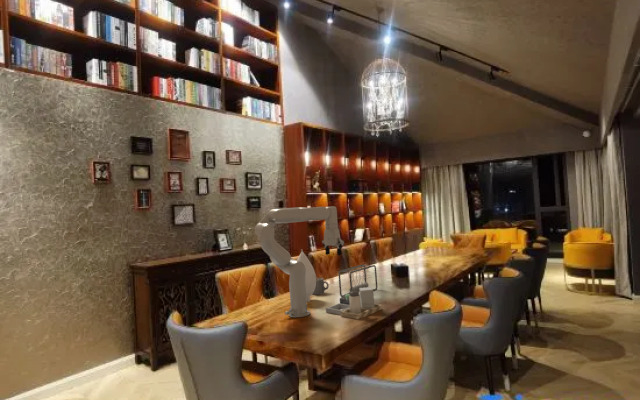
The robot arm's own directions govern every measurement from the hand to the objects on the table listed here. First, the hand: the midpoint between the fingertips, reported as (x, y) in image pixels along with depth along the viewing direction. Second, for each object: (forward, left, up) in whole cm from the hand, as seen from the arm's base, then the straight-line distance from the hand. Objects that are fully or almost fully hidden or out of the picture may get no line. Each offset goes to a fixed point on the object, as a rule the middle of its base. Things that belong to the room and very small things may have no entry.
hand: (333, 254), depth 247 cm
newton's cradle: (+35, +9, -32) cm, 48 cm away
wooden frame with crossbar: (-3, -21, -32) cm, 38 cm away
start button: (+6, -5, -31) cm, 32 cm away
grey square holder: (+6, -5, -32) cm, 33 cm away
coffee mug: (+23, +36, -32) cm, 53 cm away
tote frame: (-6, -8, -32) cm, 33 cm away
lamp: (+3, +30, -32) cm, 44 cm away
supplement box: (+3, -21, -32) cm, 38 cm away
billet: (-8, -21, -32) cm, 39 cm away
